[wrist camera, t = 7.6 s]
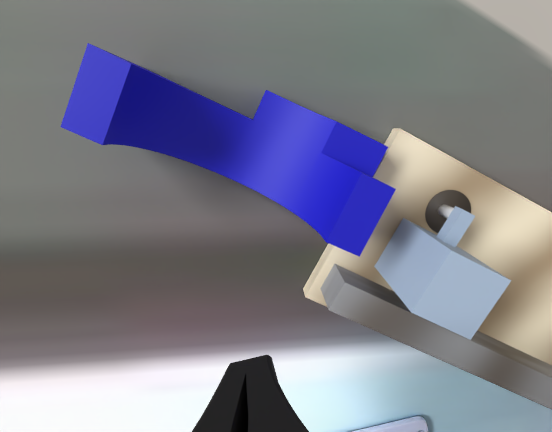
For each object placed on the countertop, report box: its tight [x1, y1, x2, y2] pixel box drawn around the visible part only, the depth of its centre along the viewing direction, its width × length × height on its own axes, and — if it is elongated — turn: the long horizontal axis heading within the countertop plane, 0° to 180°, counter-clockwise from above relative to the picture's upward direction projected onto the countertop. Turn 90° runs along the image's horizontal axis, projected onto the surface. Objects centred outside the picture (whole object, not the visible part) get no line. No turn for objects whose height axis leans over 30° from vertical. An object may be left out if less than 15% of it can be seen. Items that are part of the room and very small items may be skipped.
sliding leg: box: [374, 204, 511, 340], centre depth 18 cm, size 3×5×5 cm, turn 153°
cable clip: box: [61, 43, 396, 257], centre depth 17 cm, size 12×4×6 cm, turn 65°
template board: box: [303, 128, 552, 409], centre depth 20 cm, size 22×10×6 cm, turn 63°
